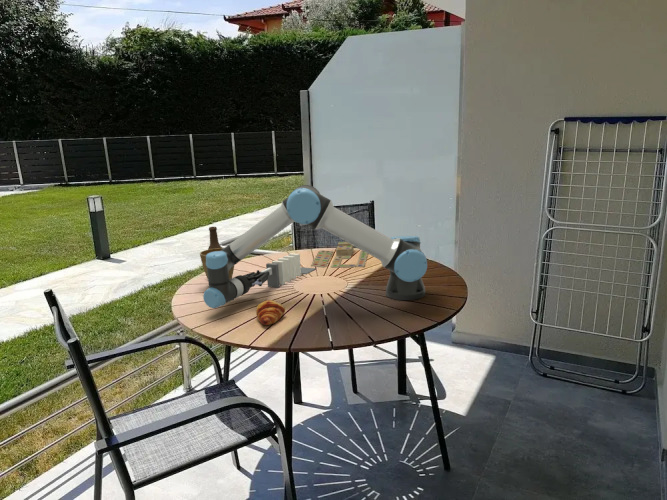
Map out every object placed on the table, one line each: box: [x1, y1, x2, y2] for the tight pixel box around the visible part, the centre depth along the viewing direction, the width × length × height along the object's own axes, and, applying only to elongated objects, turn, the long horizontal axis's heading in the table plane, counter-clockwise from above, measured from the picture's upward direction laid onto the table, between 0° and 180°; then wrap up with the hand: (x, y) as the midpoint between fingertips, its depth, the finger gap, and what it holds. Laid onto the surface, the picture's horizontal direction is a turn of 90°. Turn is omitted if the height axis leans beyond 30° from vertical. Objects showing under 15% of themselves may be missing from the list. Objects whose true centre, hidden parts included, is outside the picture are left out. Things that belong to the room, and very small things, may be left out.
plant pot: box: [199, 247, 235, 280], centre depth 220 cm, size 15×15×16 cm
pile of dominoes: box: [310, 241, 369, 269], centre depth 260 cm, size 35×27×6 cm
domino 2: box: [271, 260, 286, 286], centre depth 222 cm, size 2×5×10 cm, turn 63°
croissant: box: [255, 299, 286, 326], centre depth 183 cm, size 21×10×8 cm, turn 1°
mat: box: [301, 266, 317, 275], centre depth 241 cm, size 9×8×1 cm
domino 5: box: [287, 252, 302, 277], centre depth 234 cm, size 2×5×10 cm, turn 63°
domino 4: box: [282, 255, 297, 280], centre depth 230 cm, size 2×5×10 cm, turn 63°
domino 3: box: [277, 257, 292, 283], centre depth 226 cm, size 2×5×10 cm, turn 63°
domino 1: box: [265, 262, 281, 289], centre depth 218 cm, size 2×5×10 cm, turn 63°
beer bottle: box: [207, 226, 223, 250], centre depth 233 cm, size 8×8×24 cm
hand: (270, 270), depth 217 cm, fingers closed
